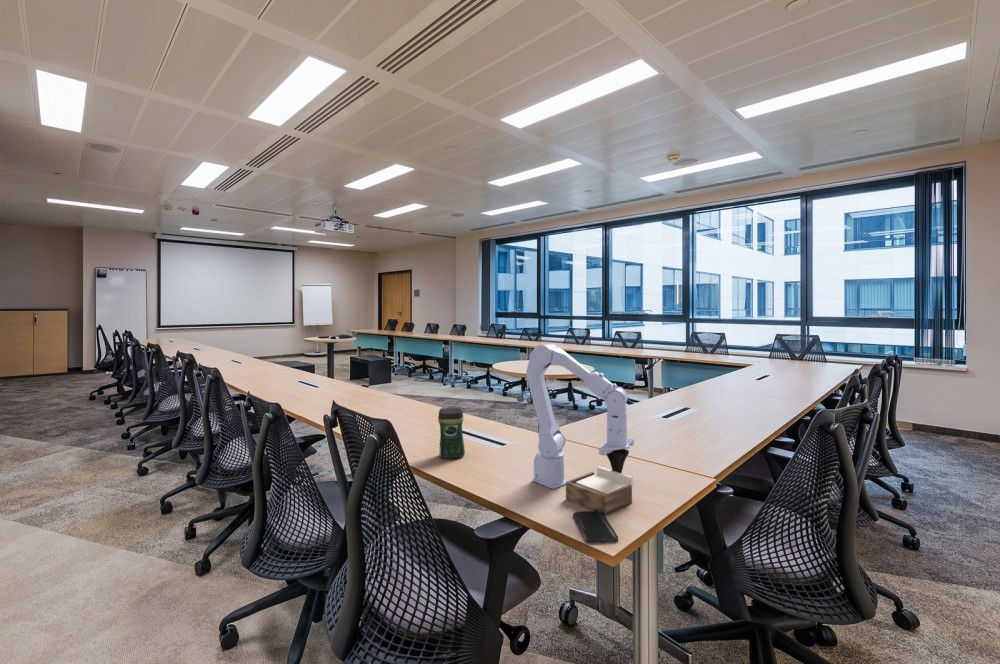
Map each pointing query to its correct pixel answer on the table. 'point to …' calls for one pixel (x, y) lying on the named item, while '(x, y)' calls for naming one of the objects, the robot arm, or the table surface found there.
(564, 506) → the table surface
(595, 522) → the phone
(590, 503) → the box
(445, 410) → the coffee jar
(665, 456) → the table surface
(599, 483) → the lid
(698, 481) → the table surface
